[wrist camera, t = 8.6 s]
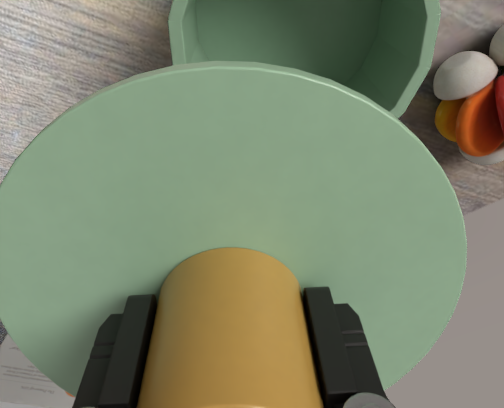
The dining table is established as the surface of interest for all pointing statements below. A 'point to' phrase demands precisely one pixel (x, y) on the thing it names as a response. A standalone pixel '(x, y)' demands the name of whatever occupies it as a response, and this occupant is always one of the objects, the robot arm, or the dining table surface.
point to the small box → (27, 382)
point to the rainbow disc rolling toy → (473, 102)
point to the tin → (316, 40)
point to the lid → (227, 232)
